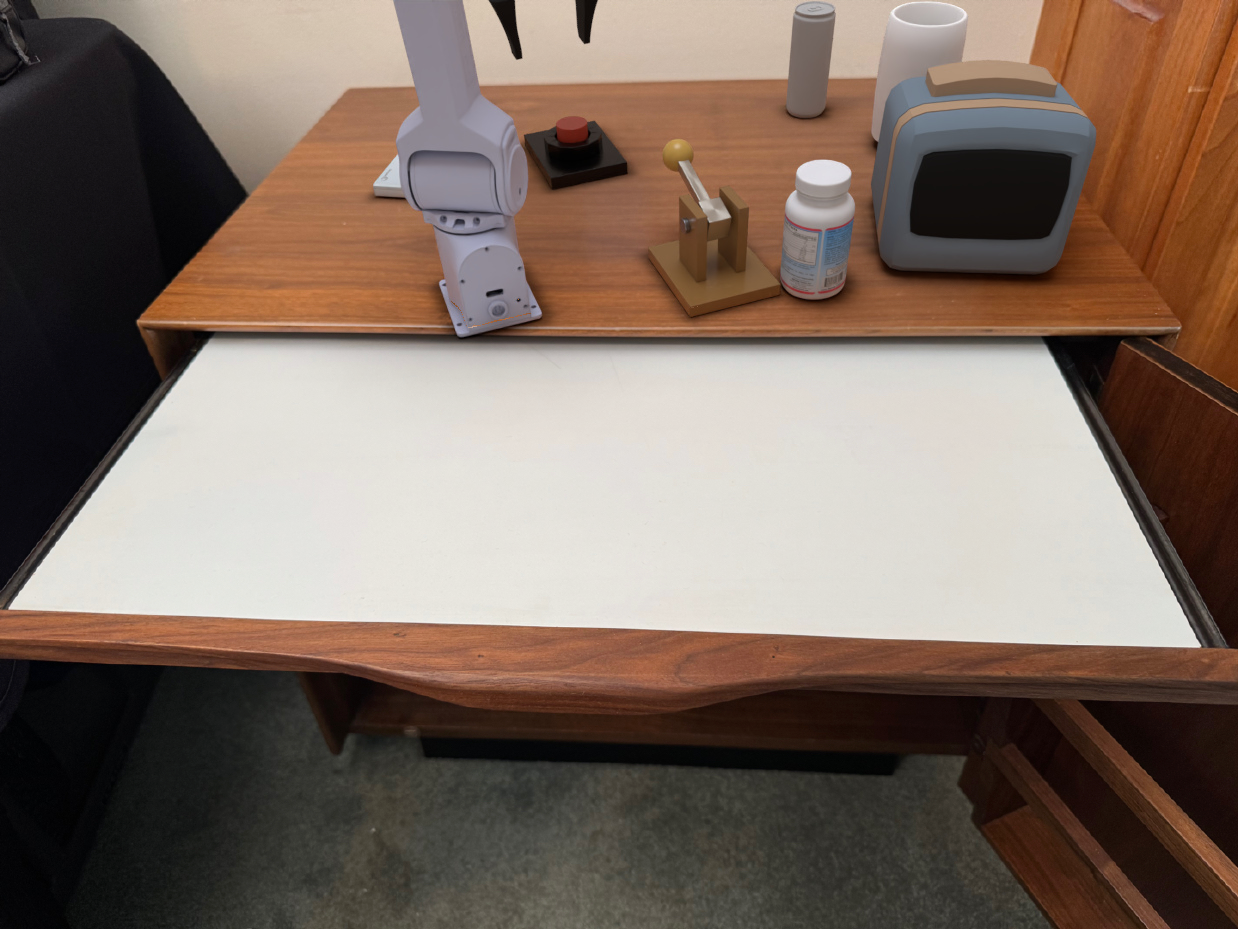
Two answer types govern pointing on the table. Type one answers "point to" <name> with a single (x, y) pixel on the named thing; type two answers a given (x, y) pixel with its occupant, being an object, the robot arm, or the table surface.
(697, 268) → the bracket
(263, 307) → the table surface
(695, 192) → the tap lever
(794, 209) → the pill bottle
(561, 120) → the button
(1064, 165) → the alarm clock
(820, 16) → the beverage can
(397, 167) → the hard drive
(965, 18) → the cup
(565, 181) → the button block
